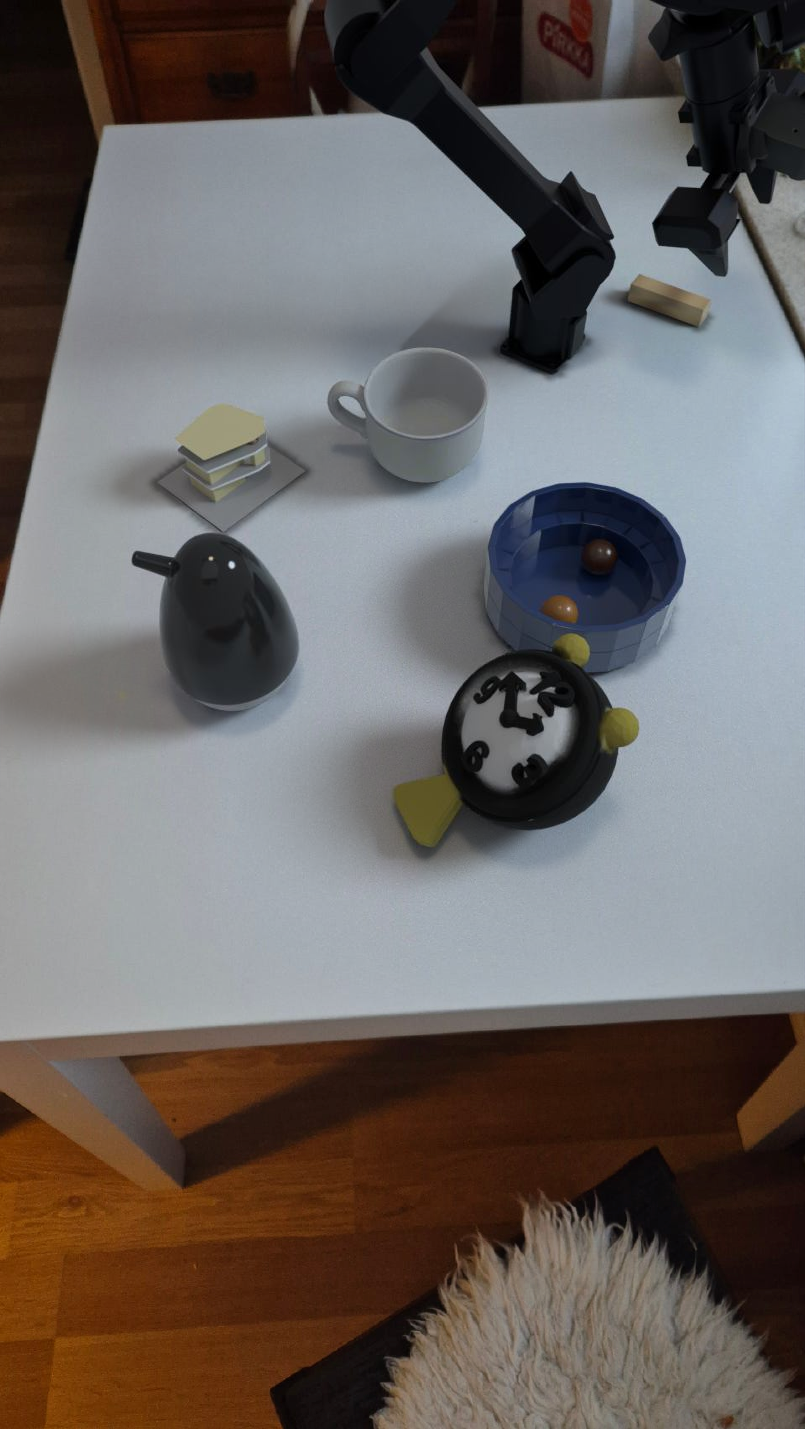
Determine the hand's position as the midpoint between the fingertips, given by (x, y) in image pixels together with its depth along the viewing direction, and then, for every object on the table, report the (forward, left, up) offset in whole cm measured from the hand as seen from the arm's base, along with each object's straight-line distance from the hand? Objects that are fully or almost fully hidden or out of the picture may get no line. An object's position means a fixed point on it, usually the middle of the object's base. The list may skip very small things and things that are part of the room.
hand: (743, 238), depth 94 cm
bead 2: (+4, -36, -7) cm, 37 cm away
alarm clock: (+8, -57, -10) cm, 59 cm away
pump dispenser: (-15, -60, -10) cm, 63 cm away
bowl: (+4, -39, -10) cm, 41 cm away
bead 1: (+4, -43, -7) cm, 44 cm away
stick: (-6, 0, -10) cm, 11 cm away
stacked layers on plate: (-29, -43, -10) cm, 53 cm away
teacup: (-17, -32, -10) cm, 37 cm away
